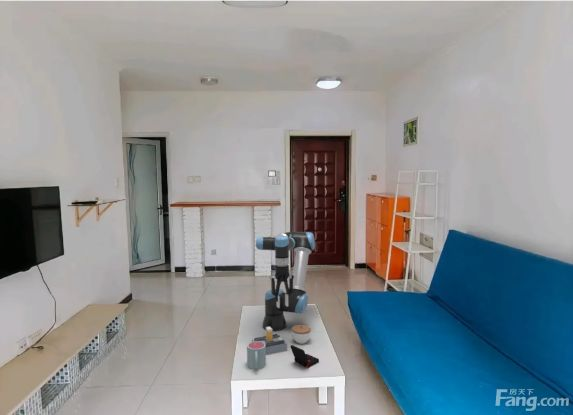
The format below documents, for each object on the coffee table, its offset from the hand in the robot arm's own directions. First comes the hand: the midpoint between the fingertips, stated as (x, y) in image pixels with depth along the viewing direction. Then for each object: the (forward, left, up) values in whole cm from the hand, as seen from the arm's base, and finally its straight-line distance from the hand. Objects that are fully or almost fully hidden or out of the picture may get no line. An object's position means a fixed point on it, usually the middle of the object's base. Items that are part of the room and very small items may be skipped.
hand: (282, 306), depth 204 cm
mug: (+21, +16, -23) cm, 35 cm away
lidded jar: (-12, -1, -23) cm, 26 cm away
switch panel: (+8, 0, -23) cm, 24 cm away
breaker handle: (+8, 0, -19) cm, 20 cm away
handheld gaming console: (-3, +22, -23) cm, 32 cm away
